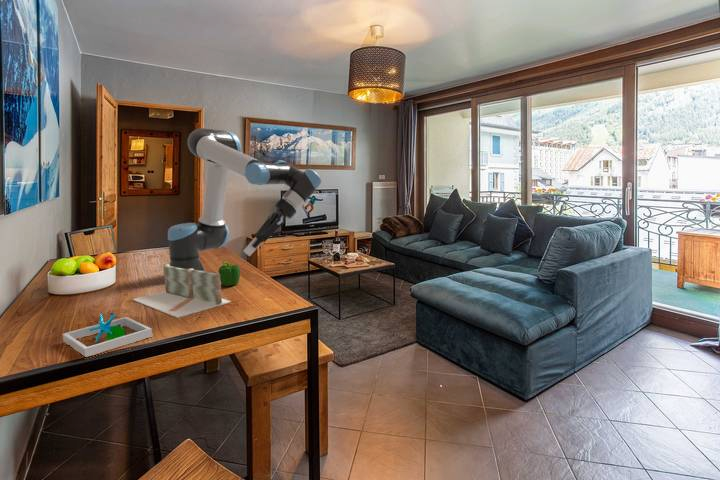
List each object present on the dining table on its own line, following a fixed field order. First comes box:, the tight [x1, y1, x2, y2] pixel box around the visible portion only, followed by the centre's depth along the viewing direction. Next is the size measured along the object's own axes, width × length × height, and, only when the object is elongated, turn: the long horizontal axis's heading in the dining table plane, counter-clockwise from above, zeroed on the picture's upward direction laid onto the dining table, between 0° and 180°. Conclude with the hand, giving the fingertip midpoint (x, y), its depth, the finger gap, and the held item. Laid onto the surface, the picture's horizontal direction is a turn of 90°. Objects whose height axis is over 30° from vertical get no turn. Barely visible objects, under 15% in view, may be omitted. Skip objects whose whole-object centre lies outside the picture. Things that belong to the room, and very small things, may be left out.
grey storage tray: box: [62, 316, 153, 357], centre depth 103 cm, size 16×16×2 cm
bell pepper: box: [218, 261, 241, 287], centre depth 156 cm, size 8×8×10 cm
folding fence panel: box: [191, 270, 223, 304], centre depth 133 cm, size 14×2×10 cm, turn 58°
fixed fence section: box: [163, 263, 194, 298], centre depth 142 cm, size 17×2×10 cm, turn 58°
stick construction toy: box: [89, 312, 127, 343], centre depth 105 cm, size 12×7×8 cm
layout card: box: [132, 290, 231, 319], centre depth 136 cm, size 31×19×1 cm, turn 53°
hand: (246, 253), depth 137 cm, fingers closed
